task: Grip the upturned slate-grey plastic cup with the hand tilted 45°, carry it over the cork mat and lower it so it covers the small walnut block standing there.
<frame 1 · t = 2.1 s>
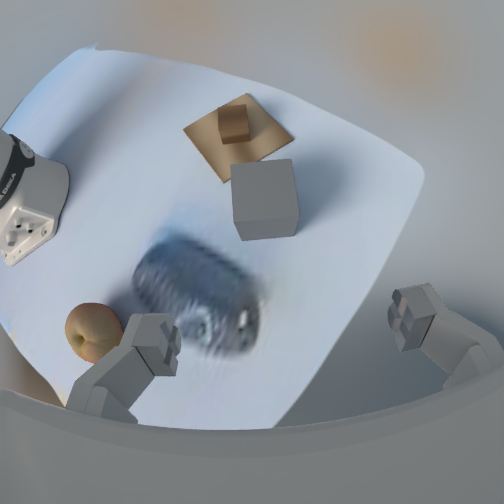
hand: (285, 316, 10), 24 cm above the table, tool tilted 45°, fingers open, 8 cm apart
cork mat: (236, 133, 39), on the table
cover cup: (265, 213, 36), on the table
fruit: (111, 331, 35), on the table
walnut block: (235, 132, 38), resting on cork mat
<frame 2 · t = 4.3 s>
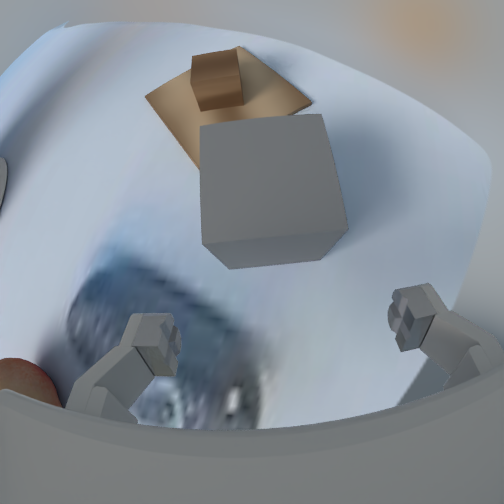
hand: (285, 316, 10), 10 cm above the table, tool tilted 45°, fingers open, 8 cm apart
cork mat: (222, 96, 24), on the table
cover cup: (270, 221, 21), on the table
fruit: (50, 393, 19), on the table
walnut block: (221, 93, 23), resting on cork mat
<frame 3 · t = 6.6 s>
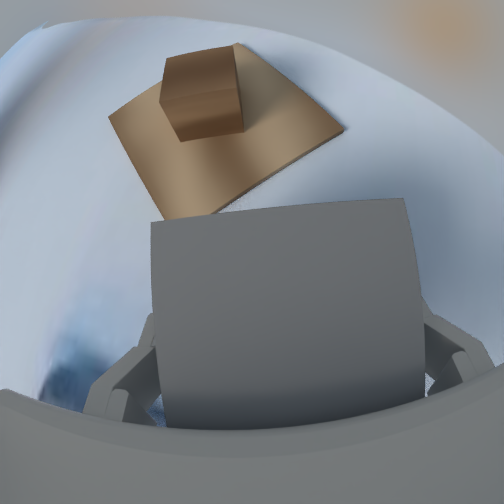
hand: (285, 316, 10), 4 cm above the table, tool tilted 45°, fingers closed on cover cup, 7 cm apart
cork mat: (212, 117, 17), on the table
cover cup: (283, 326, 14), on the table, touching gripper
walnut block: (211, 113, 16), resting on cork mat
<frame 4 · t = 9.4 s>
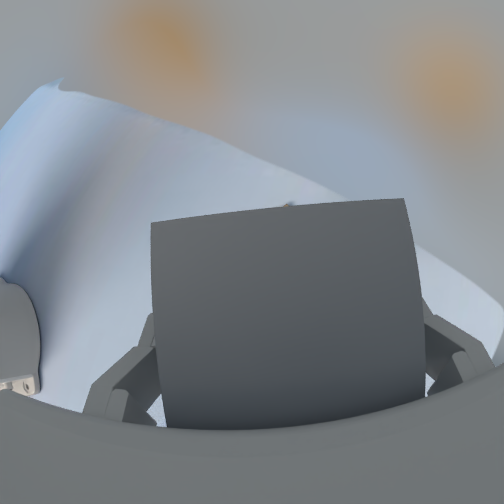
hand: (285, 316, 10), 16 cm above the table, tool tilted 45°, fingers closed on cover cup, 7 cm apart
cover cup: (283, 326, 14), point 12 cm above the table, touching gripper
when the fingers open (6 cm above the table, at t = 12.7 s): cover cup drops 2 cm, resting on cork mat.
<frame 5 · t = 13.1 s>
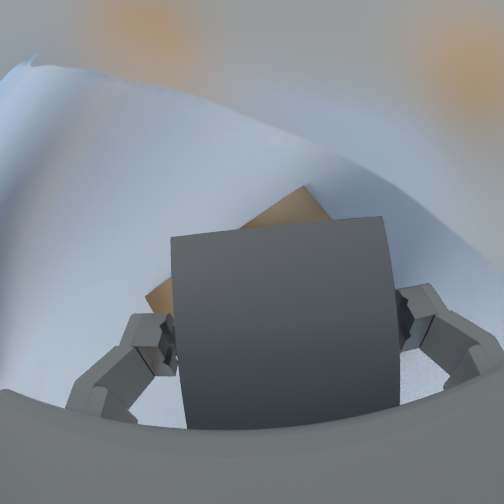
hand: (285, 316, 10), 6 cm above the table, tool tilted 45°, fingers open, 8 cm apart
cork mat: (282, 324, 16), on the table
cover cup: (281, 324, 15), resting on cork mat
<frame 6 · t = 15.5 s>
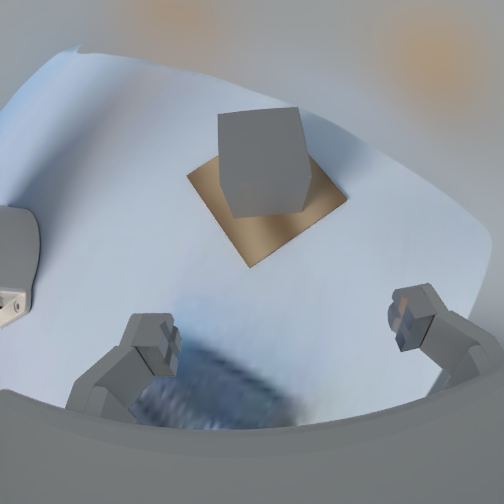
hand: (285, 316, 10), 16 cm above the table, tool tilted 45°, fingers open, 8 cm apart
cork mat: (265, 186, 28), on the table
cover cup: (264, 185, 28), resting on cork mat
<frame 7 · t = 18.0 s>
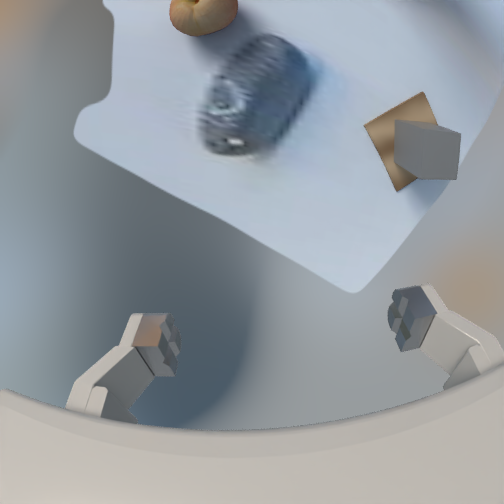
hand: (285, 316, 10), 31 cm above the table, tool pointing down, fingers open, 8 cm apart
cork mat: (410, 141, 35), on the table
cover cup: (412, 141, 34), resting on cork mat
fruit: (208, 15, 26), on the table
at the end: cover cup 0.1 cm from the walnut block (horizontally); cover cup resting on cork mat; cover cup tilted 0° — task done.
